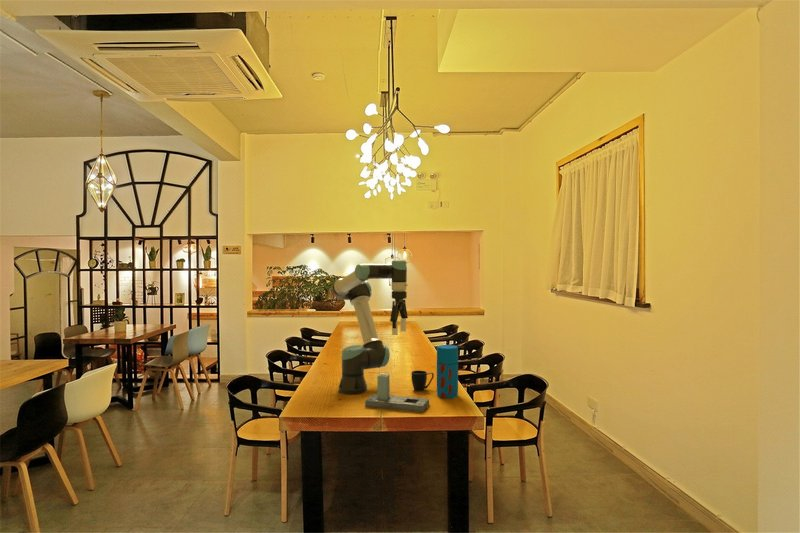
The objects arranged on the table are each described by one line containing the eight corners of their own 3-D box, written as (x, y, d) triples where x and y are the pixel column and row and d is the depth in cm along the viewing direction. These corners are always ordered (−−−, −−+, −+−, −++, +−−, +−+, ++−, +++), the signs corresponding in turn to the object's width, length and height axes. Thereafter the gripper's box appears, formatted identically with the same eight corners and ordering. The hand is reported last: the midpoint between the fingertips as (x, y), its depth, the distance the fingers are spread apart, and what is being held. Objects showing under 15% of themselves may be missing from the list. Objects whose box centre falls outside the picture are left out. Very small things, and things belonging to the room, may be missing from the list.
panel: (365, 406, 213) (365, 399, 213) (374, 399, 224) (374, 393, 224) (422, 412, 204) (422, 405, 204) (429, 404, 215) (429, 398, 215)
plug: (377, 405, 215) (377, 374, 215) (380, 402, 219) (380, 372, 219) (386, 406, 213) (386, 375, 213) (389, 403, 218) (389, 372, 218)
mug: (435, 391, 239) (435, 373, 239) (412, 392, 238) (412, 374, 238) (432, 387, 247) (432, 370, 247) (410, 388, 246) (410, 370, 246)
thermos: (444, 391, 239) (444, 344, 239) (462, 395, 232) (461, 346, 232) (432, 396, 230) (432, 347, 230) (450, 400, 223) (450, 349, 223)
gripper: (398, 292, 214) (398, 337, 213) (413, 289, 237) (413, 330, 237) (383, 291, 216) (383, 336, 216) (399, 289, 240) (399, 329, 240)
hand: (399, 333), depth 226 cm, fingers open, 13 cm apart
